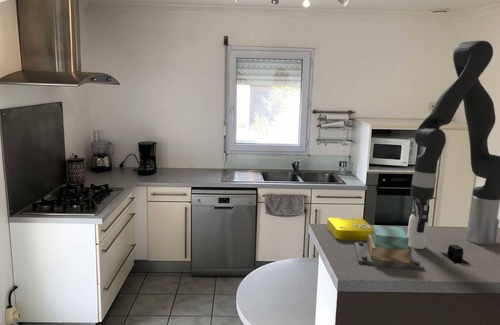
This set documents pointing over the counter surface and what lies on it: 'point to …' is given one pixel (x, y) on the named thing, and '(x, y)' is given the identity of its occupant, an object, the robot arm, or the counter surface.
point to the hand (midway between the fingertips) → (417, 228)
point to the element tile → (349, 228)
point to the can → (416, 233)
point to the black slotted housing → (455, 254)
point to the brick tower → (388, 249)
